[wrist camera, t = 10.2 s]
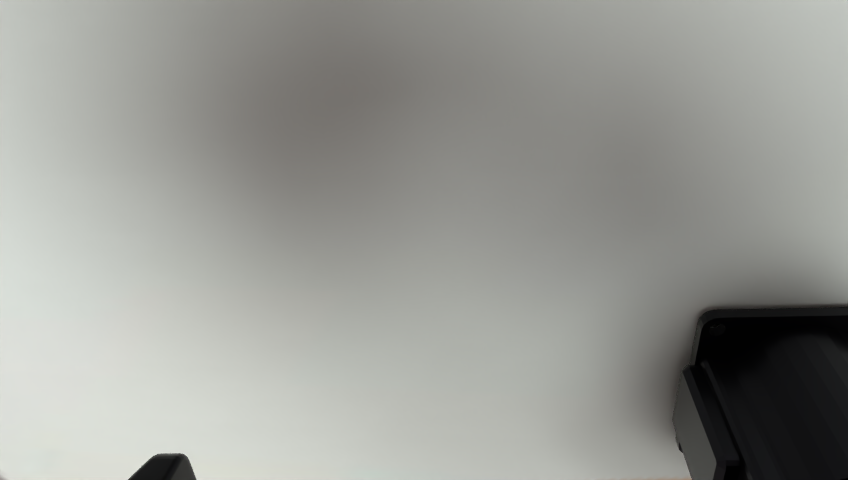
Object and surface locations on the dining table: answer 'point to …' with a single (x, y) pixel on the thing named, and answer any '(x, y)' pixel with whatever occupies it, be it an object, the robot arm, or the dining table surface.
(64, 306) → the dining table surface
